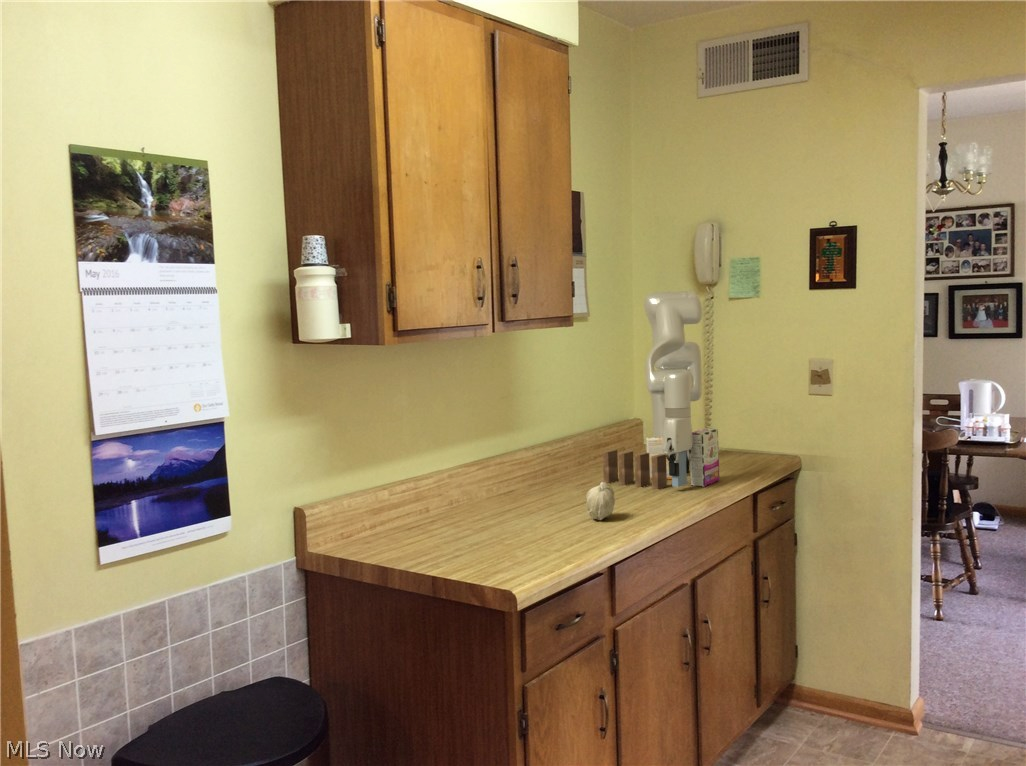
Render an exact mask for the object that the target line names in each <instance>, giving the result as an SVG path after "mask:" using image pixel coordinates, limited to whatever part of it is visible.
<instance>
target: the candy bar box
mask: <svg viewBox="0 0 1026 766" xmlns="http://www.w3.org/2000/svg"><path fill="white" fill-rule="evenodd" d="M692 437H693V444H692V445H693V449H692V451H691V454H690V460H689V474H690V475H689V476H690V478H689V479H690V486H691V485H693V486H692V487H698V486H702V487H703V488H706V487H708V486H711V485H713V484H715V483H717V482H719V481H720V461H719V460H720V459H719V456H720V455H719V453H720V451H719V429H718V428H708V427H706V428H705V427H704V428H701V429H698V430H695V431H692ZM712 483H713V484H712ZM707 485H708V486H707ZM705 486H706V487H705ZM702 487H701V488H702Z"/></svg>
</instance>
